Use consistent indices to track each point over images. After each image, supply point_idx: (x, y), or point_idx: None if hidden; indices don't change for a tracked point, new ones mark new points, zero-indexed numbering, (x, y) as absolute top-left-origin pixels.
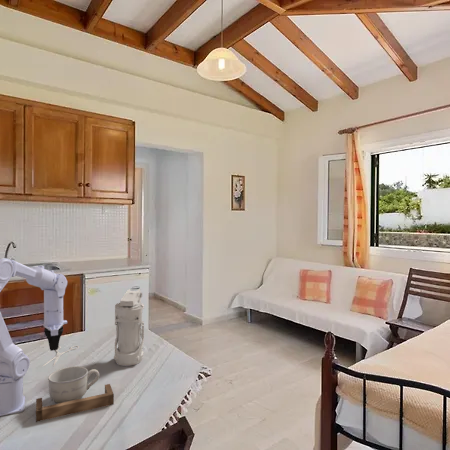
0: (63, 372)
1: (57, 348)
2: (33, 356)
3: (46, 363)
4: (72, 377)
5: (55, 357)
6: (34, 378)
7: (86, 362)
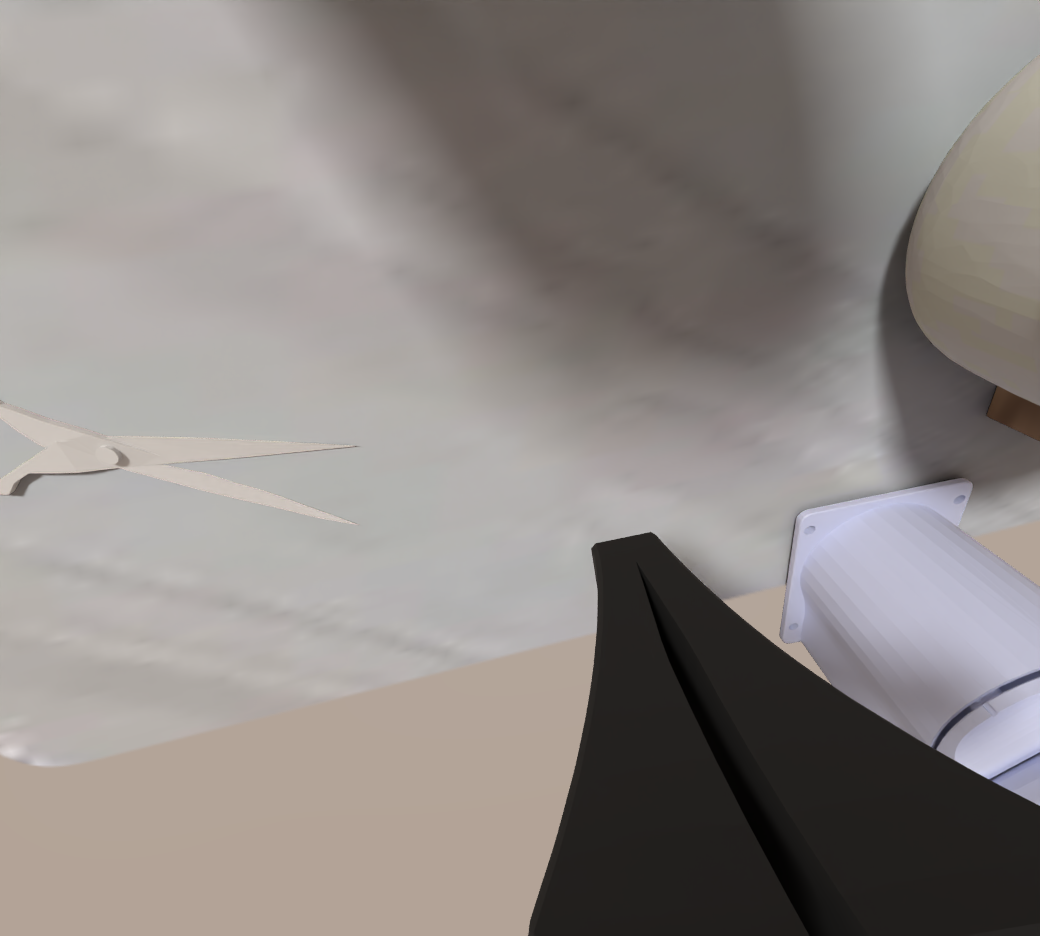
0: (1035, 318)
1: (661, 543)
2: (160, 612)
3: (289, 506)
4: (1001, 197)
5: (152, 466)
6: (542, 522)
7: (245, 98)
